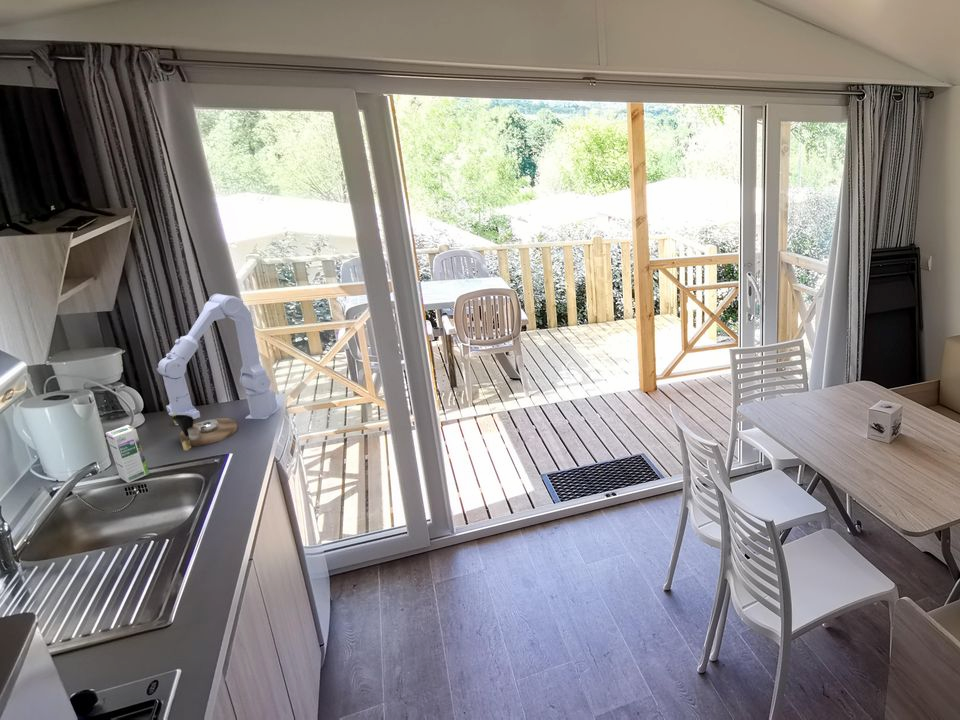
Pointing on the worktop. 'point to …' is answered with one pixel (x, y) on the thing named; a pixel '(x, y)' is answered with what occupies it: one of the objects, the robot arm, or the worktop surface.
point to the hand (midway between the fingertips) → (189, 435)
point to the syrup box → (127, 453)
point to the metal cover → (207, 426)
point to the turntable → (210, 433)
